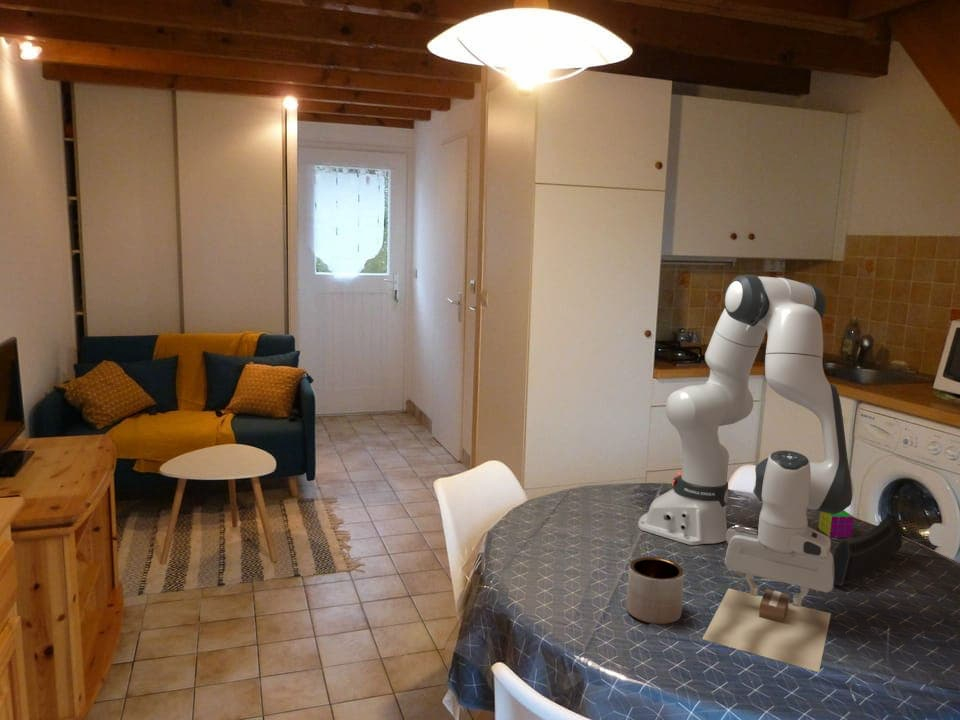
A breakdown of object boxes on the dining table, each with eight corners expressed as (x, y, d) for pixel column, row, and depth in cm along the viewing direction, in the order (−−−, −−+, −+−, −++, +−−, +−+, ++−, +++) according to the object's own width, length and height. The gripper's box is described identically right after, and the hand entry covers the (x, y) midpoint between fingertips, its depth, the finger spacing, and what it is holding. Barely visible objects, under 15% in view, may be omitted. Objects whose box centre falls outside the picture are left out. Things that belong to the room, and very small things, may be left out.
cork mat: (701, 641, 138) (702, 638, 138) (728, 590, 159) (728, 588, 159) (818, 675, 129) (818, 672, 128) (830, 616, 149) (831, 613, 149)
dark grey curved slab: (840, 555, 157) (902, 490, 174) (825, 549, 160) (887, 486, 176) (843, 619, 163) (902, 550, 180) (828, 613, 166) (888, 546, 182)
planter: (671, 632, 141) (675, 585, 140) (617, 616, 147) (620, 570, 145) (688, 609, 150) (691, 564, 149) (636, 594, 156) (639, 551, 155)
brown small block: (783, 623, 145) (784, 608, 144) (758, 616, 147) (760, 602, 146) (788, 608, 151) (789, 594, 150) (764, 602, 153) (766, 588, 152)
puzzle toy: (839, 529, 196) (841, 508, 195) (851, 537, 190) (853, 516, 189) (818, 529, 195) (820, 508, 194) (829, 537, 190) (831, 516, 189)
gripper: (724, 528, 148) (718, 592, 151) (836, 551, 138) (828, 620, 141) (730, 518, 154) (724, 580, 156) (839, 540, 144) (831, 606, 146)
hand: (775, 599), depth 148 cm, fingers open, 7 cm apart
